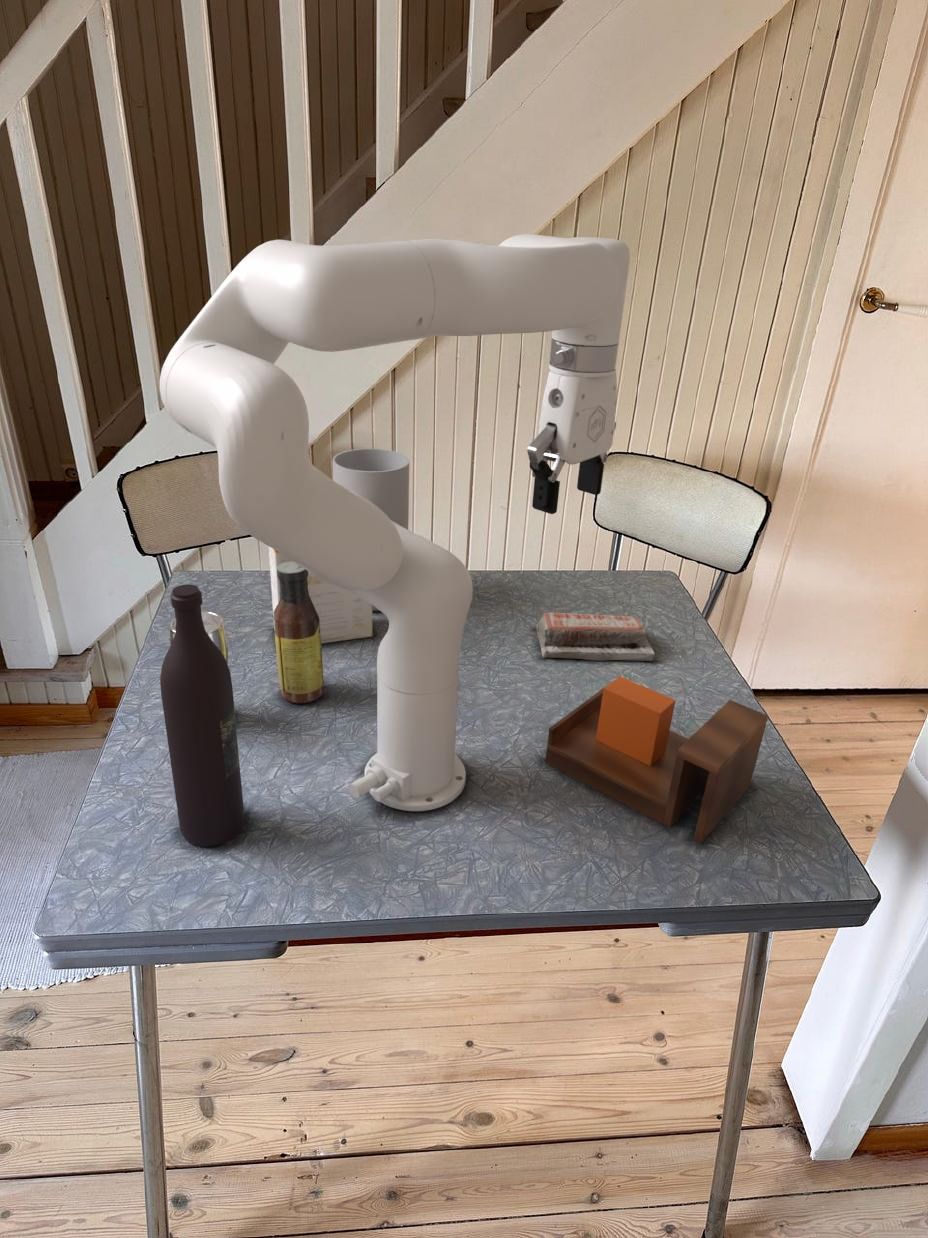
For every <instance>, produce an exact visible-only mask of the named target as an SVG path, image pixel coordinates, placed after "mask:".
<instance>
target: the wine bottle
mask: <svg viewBox="0 0 928 1238" xmlns="http://www.w3.org/2000/svg"><path fill="white" fill-rule="evenodd" d="M169 596H170V603H171V607H172V608H173V610H174V618H176V632H175V636H174V638H173V641H172V644H171V643H170V646H169V647H168V650H167V652H166V653H165V656H164V659H163V661H162V664H161V669H160V676H159V677H160V678H159V684H160V695H161V703H162V710H163V717H164V724H165V732H166V738H167V744H168V746H167V747H168V753H169V761H170V766H171V774H172V775H171V776H172V782H173V788H174V795H175V803H176V809H177V818H178V825H179V830H180V833H181V835H182V837H183V838H184V839H185V840H186V841H187V843H189V844H191V845H195V846H198V847H215V846H220V845H222V844H226V843H228V842H229V841H231V840H233V839H234V838H235V837H237V836H238V835H239V834H240V832H241V831H242V829H243V827H244V824H245V809H244V807H245V806H244V798H243V786H242V777H241V766H240V765H241V763H240V755H239V745H238V744H239V743H238V734H237V733H238V732H237V721H236V712H235V700H234V691H233V681H232V676H231V670H230V668H229V664H228V665H227V662H226V659H225V657H224V656H223V654H222V653H221V651H220V649H219V648H218V647H217V646H216V645H215V643H214V642H213V641H212V640H211V638H210V637H209V635H208V634H207V632H206V631H205V628H204V624H203V620H202V614H201V611H202V605H203V595H202V590H200V589H199V587H198V585H195V584H180V585H176V586H175V587H173V588H172V590H171V593H170V595H169Z"/></svg>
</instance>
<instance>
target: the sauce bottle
mask: <svg viewBox="0 0 928 1238" xmlns="http://www.w3.org/2000/svg"><path fill="white" fill-rule="evenodd" d="M277 577H278V579H279V582H280V600H279V603H278V605H277V606H276V609H275V610H274V618H273V625H274V624H275V630H274V642H275V650H276V651H275V652H276V662H277V672H278V673H277V674H278V684H279V688H280V690H279V691H280V693H281V696H282V697H283V699H284V700H285V701H287V702H290V703H292V704H308V703H311V702H313V701H315V700H318V699H320V697H322V695H323V693H324V682H325V679H324V666H323V664H324V663H323V652H322V651H323V650H322V643H321V635H320V620H319V616H318V614H317V612H316V609H315V607H314V605H313V603H312V600H311V598H310V596H309V591H308V582H307V577H308V571H307V570H305V569H304V568H302V567H301V566H299V565H298V564H296V563H295V562H285V563H282V564H280V565H279V566H278V567H277Z"/></svg>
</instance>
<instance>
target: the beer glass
mask: <svg viewBox="0 0 928 1238" xmlns="http://www.w3.org/2000/svg"><path fill="white" fill-rule="evenodd" d="M201 614H202V620H203V624H204V628H205V631H206V632H207V634H208V635H209V637H210V638H211V640H212V641H213V642H214V643H215V645H216V646H217V647H218V648H219V649H220V651H221V653H222V654H223V656H224V657H225V659H226V662H227V665H228V666H229V650H228V648H229V647H228V641H227V636H226V629H225V625H224V619H223V617H222V615H220V614H218V613H217V612H213V611H209V610H201ZM175 632H176V618H175V617H173V618H172V619H171V621H170V622H169V637H170V638H169V639H170V640H169V641H170V645H171V644H172V641H173V638H174V636H175Z"/></svg>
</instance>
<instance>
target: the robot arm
mask: <svg viewBox="0 0 928 1238" xmlns="http://www.w3.org/2000/svg"><path fill="white" fill-rule="evenodd" d="M630 258H631V251H630V249H629V246H628V244H627V243H626V242H624V241H622V240H620V239H615V238H609V237H608V238H607V237H597V236H596V237H594V236H593V237H592V236H576V237H570V238H569V237H568V238H567V237H561V236H552V235H544V234H543V235H542V234H536V233H535V234H534V233H522V234H517V235H513V236H510V237H508V238H507V239H505V240H503V241H502V242H501V243H500V244H498V245H493V244H486V243H480V242H475V241H467V240H461V239H447V238H418V239H417V238H416V239H406V240H405V239H404V240H396V241H382V242H370V243H351V244H338V245H337V244H336V245H316V244H309V243H304V242H299V241H293V240H287V239H273V240H269V241H266V242H264V243H262V244H260V245H258V246H256V247H255V248H254V249H253V250H251V251H250V252H249V253H248V254H246V256H244V258H242V259H241V261H239V263H238V264H237V265H236V266H235V267H234V268H233V270H232V271H231V272H230V273H229V274H228V276H227V277H226V278H225V279H224V280H223V282H222V283H221V284H220V285H219V287H218V288H217V289H216V290H215V292H214V293H213V295H212V296H211V297H210V298H209V299H208V301H207V302H206V303H205V305H204V306H203V308H202V309H201V310H200V311H199V313H198V314H197V315H196V316H195V318H194V319H193V320H192V321H191V323H190V324H189V325H188V327H187V328H186V329H185V330H184V331H183V333H182V334H181V336H179V338H178V340H177V341H176V342H175V343H174V345H173V346H172V347H171V348H170V351H169V352H168V354H167V356H166V359H165V361H164V362H163V365H162V367H161V372H160V374H159V375H160V376H159V394H160V398H161V402H162V404H163V407H164V409H165V410H166V412H167V414H168V415H169V416H170V418H171V419H172V420H173V422H175V424H177V425H179V427H181V428H182V429H183V430H185V431H187V432H188V433H189V434H192V435H193V436H195V437H197V438H199V439H201V440H202V441H204V442H206V443H207V444H209V445H211V446H212V447H214V448H216V451H217V459H218V460H217V461H218V483H219V489H220V494H221V498H222V501H223V504H224V507H225V509H226V511H227V513H228V515H229V517H230V519H231V520H232V521H233V522H234V524H236V526H238V527H239V528H240V529H242V530H243V531H244V532H245V533H247V534H248V535H249V536H251V537H253V538H254V539H256V540H258V541H259V542H261V543H262V544H264V545H266V546H267V547H268V548H269V547H271V548H273V549H275V550H276V551H278V552H279V553H281V554H283V555H284V556H286V557H288V558H289V559H290V560H292V561H293V562H295V563H296V564H298V565H299V566H301V567H302V568H304V569H305V570H307V571H308V572H310V573H311V574H313V575H315V576H316V577H318V578H320V579H322V580H323V581H325V582H327V583H329V584H332V585H334V586H337V587H340V588H344V589H348V590H350V591H352V592H353V593H355V594H356V595H358V596H359V597H361V598H362V599H364V600H365V601H367V602H368V603H370V604H371V605H373V606H375V607H376V608H377V609H378V610H379V611H378V612H381V613H382V614H383V615H385V617H386V618H387V621H388V629H387V631H386V633H385V635H384V637H383V638H382V639H381V641H380V643H379V646H378V649H377V654H376V655H377V656H376V681H377V682H376V688H377V689H376V693H377V695H376V696H377V697H376V700H377V701H376V704H377V706H376V715H377V716H376V732H377V733H376V734H377V735H376V753H375V754H373V755H372V756H371V757H370V759H368V762H367V763H366V765H365V767H364V776H363V777H359V778H357V779H355V781H353V782H351V783H349V785H348V792H349V795H350V796H351V797H352V798H353V799H356V800H358V799H359V798H361V797H363V796H364V795H366V794H367V793H369V794H370V795H371V797H373V799H374V800H375V801H376V802H378V803H381V804H383V805H384V806H387V807H390V808H392V809H396V810H399V811H405V812H406V811H407V812H426V811H431V810H435V809H439V808H441V807H444V806H446V805H448V804H450V803H452V802H453V801H454V800H455V799H457V798H458V797H459V795H461V794H462V793H463V790H464V788H465V785H466V779H467V771H466V767H465V765H464V763H463V761H462V760H461V758H459V757H458V756H457V755H456V739H457V738H456V737H457V721H458V720H457V719H458V700H459V699H458V698H459V684H460V683H459V681H460V662H461V661H460V660H461V649H462V639H463V634H464V631H465V630H464V629H465V625H466V622H467V619H468V616H469V615H468V614H469V611H470V608H471V604H472V601H473V592H474V588H473V587H474V585H473V580H472V577H471V574H470V571H469V569H468V568H467V567H466V565H465V564H464V563H463V562H462V561H461V560H460V559H459V558H458V557H457V556H456V555H455V554H453V553H452V552H451V551H449V550H447V548H444V547H443V546H441V545H440V544H437V543H435V542H434V541H431V540H430V539H428V538H426V537H424V536H422V535H419V534H417V533H415V532H413V531H411V530H410V529H409V528H408V529H406V528H404V527H402V526H400V525H398V524H397V523H395V522H393V521H391V520H390V519H389V517H388V516H387V515H386V514H385V513H384V512H383V511H382V510H381V509H380V508H379V507H377V506H376V505H375V504H373V503H372V502H370V501H369V500H367V499H366V498H364V497H362V496H361V495H359V494H357V493H355V492H353V491H351V490H349V489H347V488H345V487H343V486H342V485H340V484H338V483H336V482H335V481H333V478H331V477H329V476H328V475H327V474H326V473H325V472H323V471H322V470H320V469H319V468H317V466H314V465H313V463H312V461H311V459H310V454H309V453H310V452H309V439H310V437H309V435H310V420H309V419H310V418H309V411H308V406H307V403H306V399H305V397H304V395H303V392H302V391H301V389H300V387H299V386H298V385H297V383H296V381H295V380H294V379H293V378H292V376H290V375H289V373H287V372H286V371H285V370H284V369H282V368H280V367H279V366H278V365H276V364H275V363H276V362H277V360H278V359H279V358H280V356H281V355H282V353H283V352H284V350H285V349H286V347H287V346H288V345H289V343H291V344H293V345H296V346H299V347H303V348H305V349H309V350H313V351H316V352H325V353H327V352H328V353H329V352H331V353H335V352H343V351H351V350H359V349H363V348H369V347H377V346H381V345H382V346H383V345H388V344H395V343H401V342H407V341H408V342H409V341H414V340H421V339H422V340H423V339H429V338H434V337H435V338H436V337H473V336H474V337H475V336H489V335H507V334H509V335H511V334H513V335H514V334H535V333H547V332H552V333H551V339H550V340H551V342H550V351H549V361H548V370H549V371H548V375H547V379H546V383H545V388H544V391H543V398H542V403H541V410H540V417H539V425H538V432H537V436H536V437H535V438H534V440H532V441H531V443H530V444H529V445H528V447H527V450H526V451H527V452H526V453H527V456H528V460H529V468H530V470H531V476H532V477H533V478H534V483H533V493H532V501H531V502H532V504H531V506H532V508H533V509H535V510H536V511H540V512H544V513H547V514H550V515H554V514H556V513H557V512H558V504H559V494H560V487H561V486H560V485H561V481H560V480H558V477H559V475H560V474H561V471H562V469H563V467H564V466H565V464H567V465H571V466H573V465H577V464H579V467H578V468H579V469H578V473H577V474H578V475H577V484H576V489H577V490H578V491H581V492H584V493H588V494H590V495H595V496H598V495H600V494H601V492H602V486H603V477H604V472H605V471H604V469H605V463H606V462H607V460H608V452H609V450H610V449H611V448H612V446H613V443H614V435H615V430H616V428H617V422H616V414H617V397H618V396H617V393H618V391H617V390H618V381H617V362H618V361H617V360H618V353H619V346H620V336H621V329H622V322H623V314H624V308H625V301H626V300H625V299H626V292H627V284H628V277H629V269H630V262H631V261H630V260H631V259H630ZM549 462H554V463H553V465H552V467H550V464H548V463H549Z"/></svg>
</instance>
